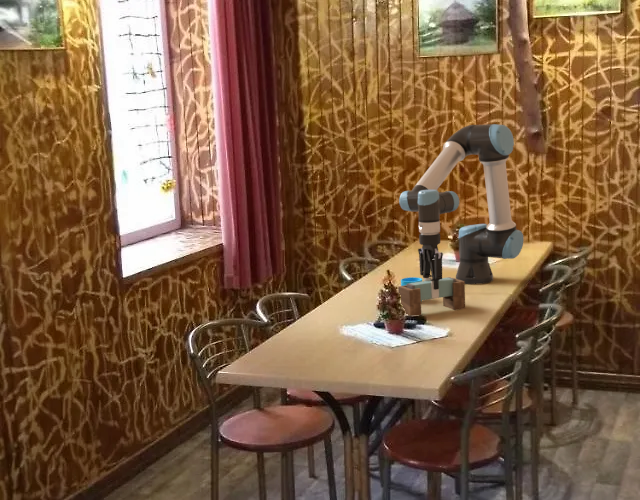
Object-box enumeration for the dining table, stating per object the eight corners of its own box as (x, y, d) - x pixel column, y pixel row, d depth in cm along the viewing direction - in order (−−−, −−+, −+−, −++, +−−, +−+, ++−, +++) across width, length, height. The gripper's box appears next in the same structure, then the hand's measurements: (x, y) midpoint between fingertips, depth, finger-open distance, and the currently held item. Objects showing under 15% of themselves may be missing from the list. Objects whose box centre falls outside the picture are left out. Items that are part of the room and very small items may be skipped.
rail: (450, 293, 345) (449, 277, 344) (455, 295, 341) (455, 278, 340) (407, 299, 338) (406, 283, 337) (412, 302, 334) (412, 285, 333)
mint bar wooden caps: (453, 304, 349) (452, 277, 347) (465, 308, 342) (464, 281, 340) (399, 313, 340) (398, 286, 338) (410, 317, 332) (409, 290, 331)
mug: (417, 303, 353) (417, 282, 352) (398, 302, 357) (397, 281, 356) (430, 296, 363) (429, 275, 362) (411, 295, 367) (410, 274, 366)
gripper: (408, 231, 342) (411, 293, 346) (432, 237, 326) (435, 302, 330) (426, 229, 345) (428, 291, 349) (451, 234, 329) (453, 299, 333)
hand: (431, 296), depth 340 cm, fingers closed on rail, 4 cm apart
